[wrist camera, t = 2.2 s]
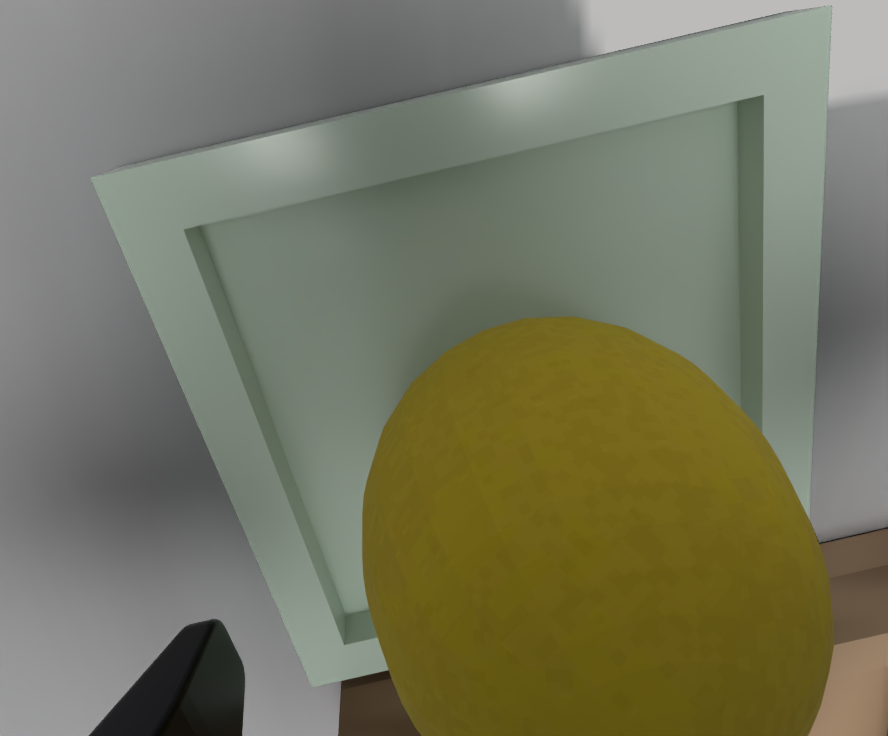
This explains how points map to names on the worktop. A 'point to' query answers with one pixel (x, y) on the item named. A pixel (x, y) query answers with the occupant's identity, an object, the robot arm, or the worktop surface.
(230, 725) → the robot arm
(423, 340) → the dish
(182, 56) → the worktop surface
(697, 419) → the lemon
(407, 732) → the tray
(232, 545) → the worktop surface
